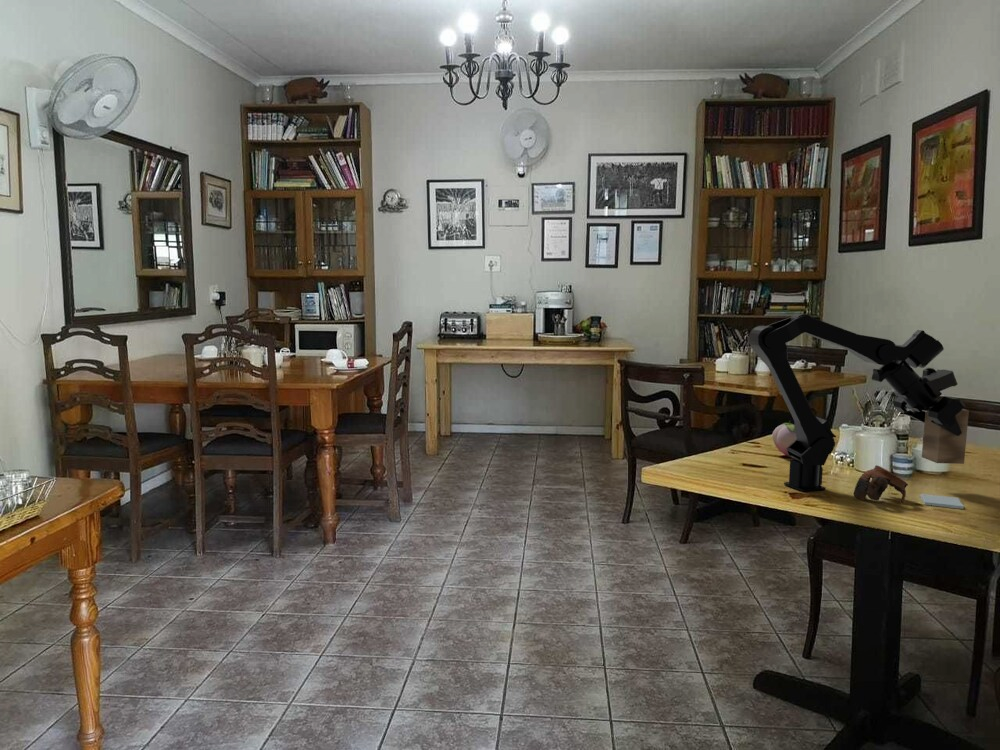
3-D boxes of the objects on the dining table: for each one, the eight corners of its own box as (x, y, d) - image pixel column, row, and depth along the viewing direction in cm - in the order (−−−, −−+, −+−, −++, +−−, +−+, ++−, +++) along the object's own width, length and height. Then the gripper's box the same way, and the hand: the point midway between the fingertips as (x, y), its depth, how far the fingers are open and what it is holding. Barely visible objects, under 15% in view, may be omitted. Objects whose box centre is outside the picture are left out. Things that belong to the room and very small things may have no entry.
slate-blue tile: (924, 504, 152) (924, 501, 152) (920, 496, 158) (920, 493, 158) (963, 509, 149) (963, 506, 149) (957, 500, 156) (958, 497, 156)
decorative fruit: (811, 460, 192) (813, 423, 191) (781, 460, 192) (783, 423, 191) (796, 452, 202) (798, 417, 201) (767, 452, 202) (769, 417, 200)
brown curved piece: (850, 492, 163) (872, 462, 162) (891, 518, 158) (914, 487, 157) (846, 491, 152) (869, 458, 151) (890, 518, 148) (914, 485, 147)
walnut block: (937, 463, 161) (941, 409, 160) (921, 457, 167) (925, 405, 165) (964, 463, 161) (968, 410, 159) (947, 457, 167) (952, 406, 165)
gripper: (959, 361, 152) (1007, 414, 153) (910, 354, 171) (953, 401, 172) (919, 397, 153) (966, 449, 154) (874, 386, 171) (917, 433, 173)
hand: (951, 431), depth 163 cm, fingers closed on walnut block, 6 cm apart
